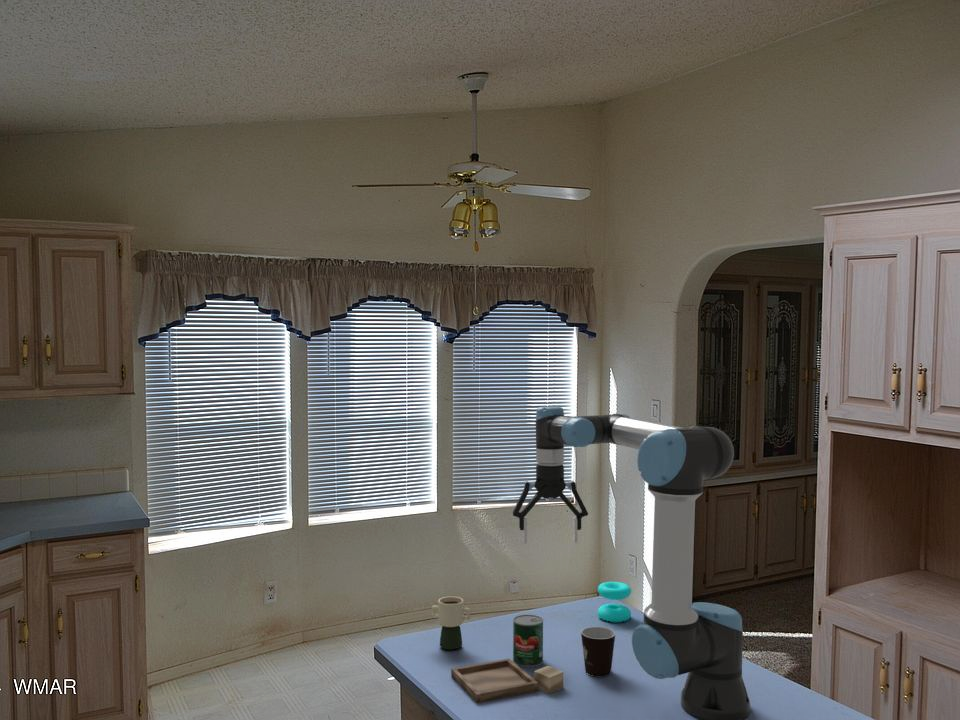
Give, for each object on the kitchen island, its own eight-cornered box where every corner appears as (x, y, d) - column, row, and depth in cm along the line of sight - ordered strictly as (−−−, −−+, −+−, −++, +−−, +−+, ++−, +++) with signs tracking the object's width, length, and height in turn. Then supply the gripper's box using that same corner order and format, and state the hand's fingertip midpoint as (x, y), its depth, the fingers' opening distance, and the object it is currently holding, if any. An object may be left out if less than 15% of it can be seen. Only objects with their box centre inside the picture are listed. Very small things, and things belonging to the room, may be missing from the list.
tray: (538, 690, 192) (538, 682, 191) (476, 702, 185) (476, 694, 185) (509, 666, 206) (509, 658, 206) (451, 676, 200) (451, 668, 200)
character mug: (473, 644, 221) (473, 597, 221) (467, 653, 214) (467, 605, 214) (435, 641, 224) (435, 594, 223) (428, 650, 217) (428, 603, 216)
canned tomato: (516, 668, 205) (516, 625, 205) (510, 656, 213) (510, 615, 213) (546, 666, 206) (546, 623, 206) (539, 654, 214) (539, 613, 214)
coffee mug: (614, 680, 198) (614, 640, 197) (579, 677, 199) (579, 637, 199) (616, 662, 209) (616, 624, 209) (583, 659, 211) (583, 621, 210)
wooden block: (563, 688, 193) (563, 671, 193) (549, 694, 190) (549, 677, 190) (548, 681, 197) (548, 665, 197) (534, 687, 194) (534, 671, 194)
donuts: (591, 585, 242) (610, 578, 249) (591, 618, 242) (609, 610, 250) (619, 592, 235) (637, 585, 242) (618, 626, 235) (637, 617, 243)
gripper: (594, 461, 220) (594, 538, 220) (503, 462, 220) (503, 538, 220) (598, 465, 213) (598, 545, 213) (504, 466, 213) (504, 545, 213)
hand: (550, 542), depth 217 cm, fingers open, 13 cm apart
